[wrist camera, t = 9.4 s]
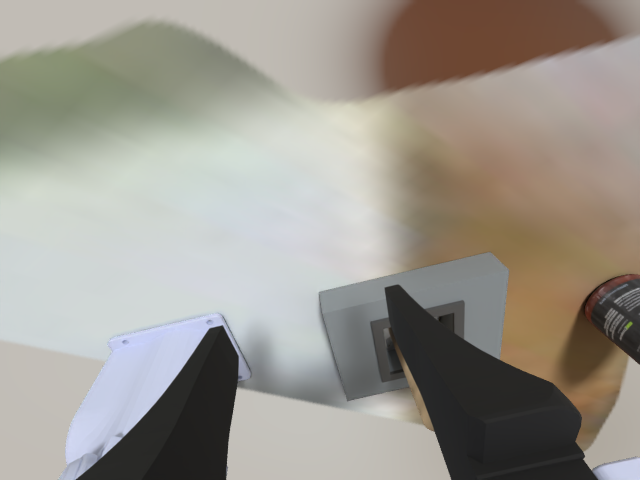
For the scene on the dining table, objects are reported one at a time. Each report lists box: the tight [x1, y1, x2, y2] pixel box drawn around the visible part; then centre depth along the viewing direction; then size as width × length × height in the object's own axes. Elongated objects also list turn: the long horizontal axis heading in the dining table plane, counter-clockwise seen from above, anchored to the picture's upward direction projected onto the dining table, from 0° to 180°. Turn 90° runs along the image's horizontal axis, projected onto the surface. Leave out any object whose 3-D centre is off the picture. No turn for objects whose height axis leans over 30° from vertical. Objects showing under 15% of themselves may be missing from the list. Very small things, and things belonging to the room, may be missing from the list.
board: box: [319, 252, 509, 401], centre depth 27 cm, size 14×11×3 cm
